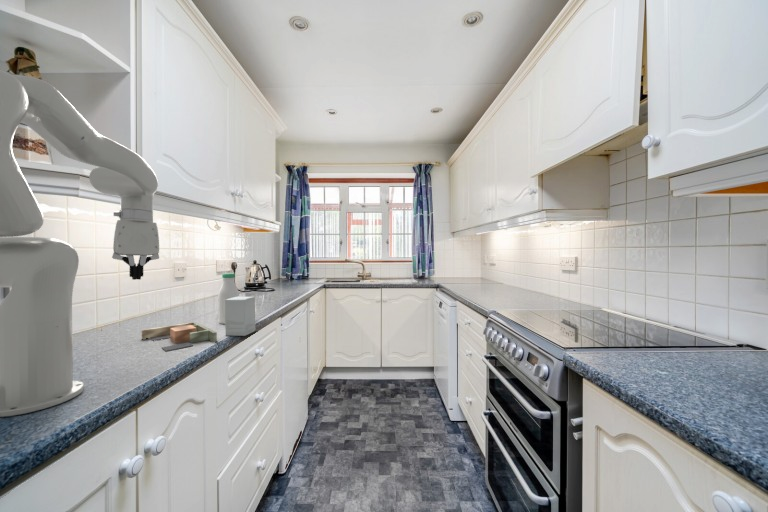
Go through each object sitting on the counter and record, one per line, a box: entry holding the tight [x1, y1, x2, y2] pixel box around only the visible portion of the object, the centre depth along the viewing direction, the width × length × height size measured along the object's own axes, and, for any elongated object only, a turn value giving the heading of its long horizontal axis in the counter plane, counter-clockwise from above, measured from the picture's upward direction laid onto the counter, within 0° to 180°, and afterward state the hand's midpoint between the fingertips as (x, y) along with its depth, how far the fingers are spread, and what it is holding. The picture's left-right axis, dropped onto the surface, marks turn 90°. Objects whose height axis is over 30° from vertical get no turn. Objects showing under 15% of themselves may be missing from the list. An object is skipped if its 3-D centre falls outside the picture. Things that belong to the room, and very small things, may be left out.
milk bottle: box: [217, 272, 240, 325], centre depth 124 cm, size 8×8×20 cm
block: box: [169, 325, 196, 344], centre depth 99 cm, size 6×6×4 cm
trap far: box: [150, 334, 170, 342], centre depth 101 cm, size 7×4×1 cm, turn 138°
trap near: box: [161, 341, 194, 353], centre depth 91 cm, size 7×4×1 cm, turn 138°
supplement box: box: [224, 296, 256, 337], centre depth 107 cm, size 7×7×13 cm
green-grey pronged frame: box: [141, 321, 218, 344], centre depth 98 cm, size 16×22×3 cm
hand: (136, 279), depth 89 cm, fingers closed
